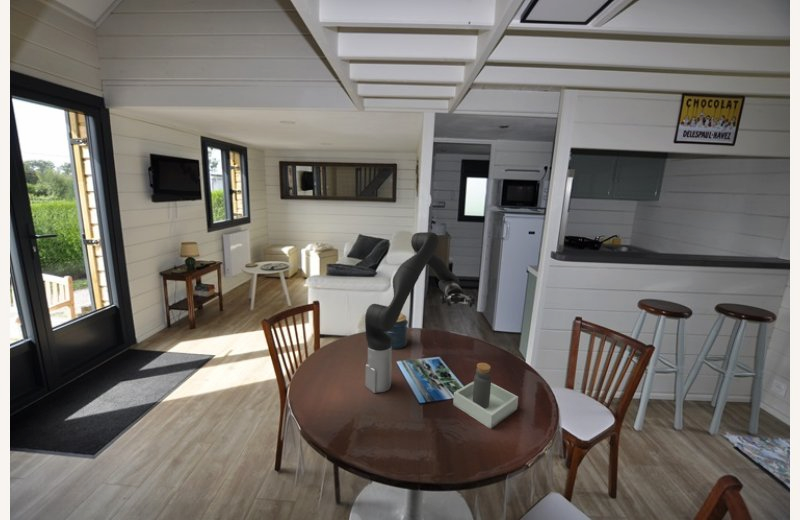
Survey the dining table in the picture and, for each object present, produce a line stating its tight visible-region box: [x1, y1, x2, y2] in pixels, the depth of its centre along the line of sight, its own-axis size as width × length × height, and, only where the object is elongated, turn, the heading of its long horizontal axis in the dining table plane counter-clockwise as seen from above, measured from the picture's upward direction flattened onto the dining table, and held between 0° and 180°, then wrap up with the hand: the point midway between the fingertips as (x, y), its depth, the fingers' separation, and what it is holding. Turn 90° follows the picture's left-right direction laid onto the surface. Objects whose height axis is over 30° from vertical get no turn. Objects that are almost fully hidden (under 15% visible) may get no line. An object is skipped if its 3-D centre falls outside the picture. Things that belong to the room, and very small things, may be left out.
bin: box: [452, 380, 519, 430], centre depth 118 cm, size 16×16×5 cm
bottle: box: [473, 362, 492, 409], centre depth 117 cm, size 6×6×15 cm
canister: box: [384, 312, 409, 350], centre depth 165 cm, size 13×13×18 cm
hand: (460, 304), depth 136 cm, fingers open, 8 cm apart
